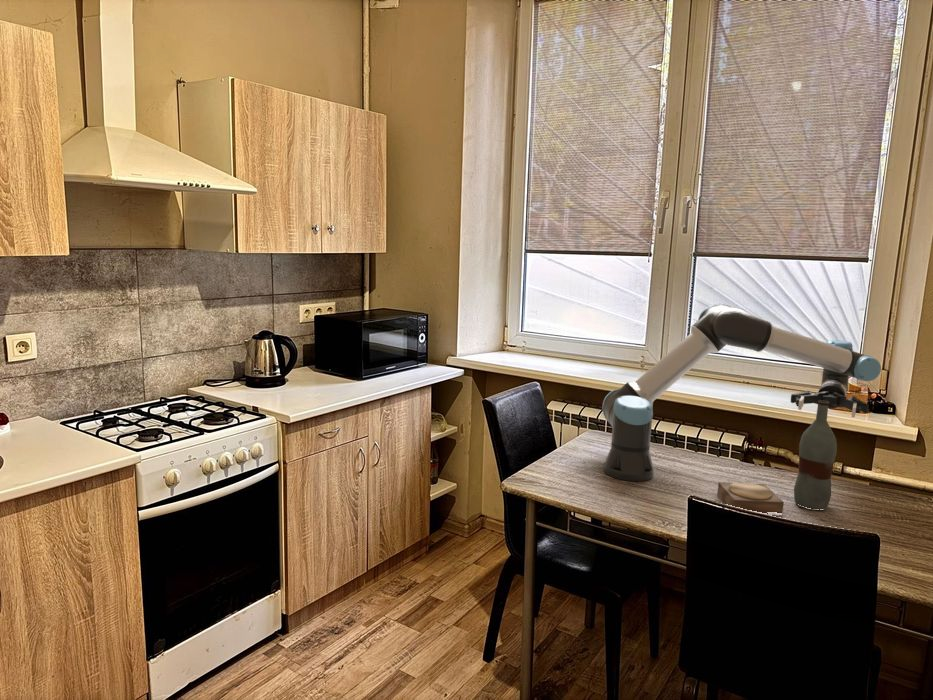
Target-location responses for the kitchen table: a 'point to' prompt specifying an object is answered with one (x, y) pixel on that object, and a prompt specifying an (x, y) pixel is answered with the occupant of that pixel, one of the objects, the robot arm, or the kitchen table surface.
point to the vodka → (816, 462)
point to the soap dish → (750, 497)
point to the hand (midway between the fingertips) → (826, 408)
